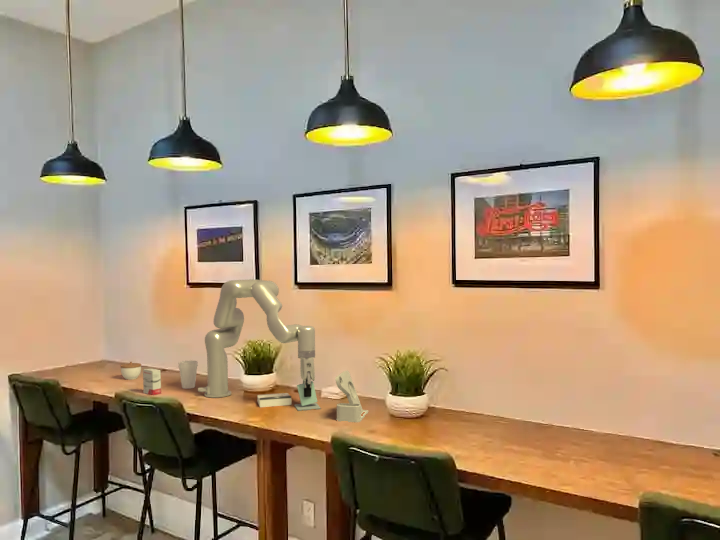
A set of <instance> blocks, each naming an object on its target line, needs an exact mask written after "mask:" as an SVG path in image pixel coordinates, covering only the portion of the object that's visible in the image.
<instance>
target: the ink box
mask: <svg viewBox="0 0 720 540" xmlns="http://www.w3.org/2000/svg"><path fill="white" fill-rule="evenodd" d="M161 371H162V370H160V369H156V368H143V370H142V375H143V377H142V379H143V380H142V381H143V383H142V385H143V394H146V395H147V394H148V395H151V396H155V395H160V394H162V378H161V375H162V373H161Z"/></svg>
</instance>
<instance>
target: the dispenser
mask: <svg viewBox="0 0 720 540" xmlns="http://www.w3.org/2000/svg"><path fill="white" fill-rule="evenodd" d="M257 404H258V406H259V408H266V407H267V408H268V407H278V406H279V407H281V406H283V407H284V406H292V395H290V394H289V393H288V392H285V393H284V392H282V393H281V392H280V393H269V394H267V393H266V394H257Z"/></svg>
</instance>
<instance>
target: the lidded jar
mask: <svg viewBox="0 0 720 540" xmlns="http://www.w3.org/2000/svg"><path fill="white" fill-rule="evenodd" d="M141 371H142V363H140V362H133V361H129V363H123V364H121V365H120V373H121V375H122V377H123V378H124V379H125V380H127V379H128V380H137V379H138V377H139V376H140V375H141V374H142V373H141Z"/></svg>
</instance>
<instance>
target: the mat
mask: <svg viewBox="0 0 720 540" xmlns="http://www.w3.org/2000/svg"><path fill="white" fill-rule="evenodd" d="M293 406H294V408H295V409H296V410H297V412H302V410H303V411H312V410H311V409H316V410H322V408H321V407H320V405H319V404H318V402H315V403H311V404H308V405H304V406H302V405H301V403H295V404H293Z"/></svg>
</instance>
